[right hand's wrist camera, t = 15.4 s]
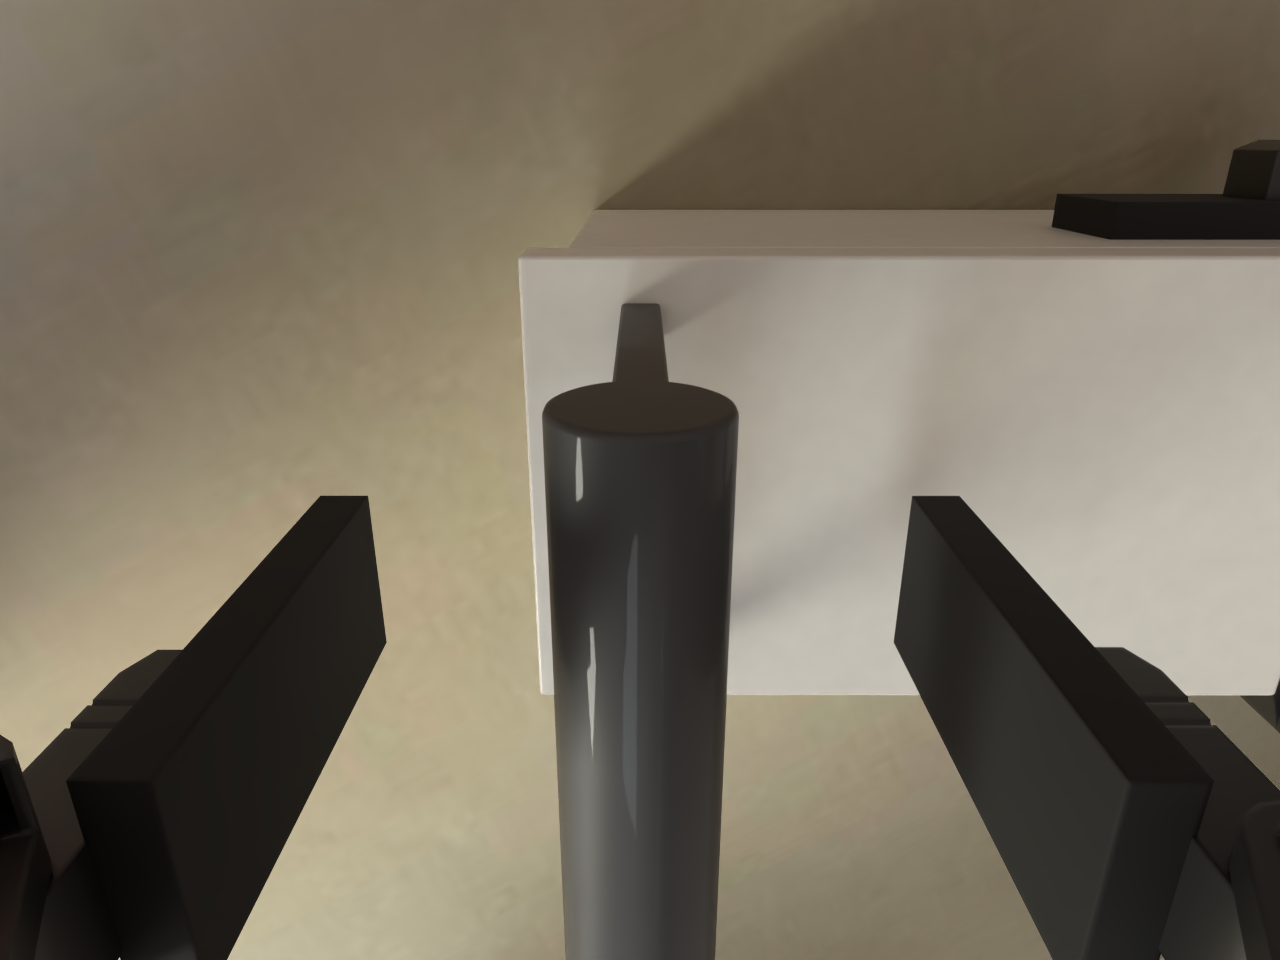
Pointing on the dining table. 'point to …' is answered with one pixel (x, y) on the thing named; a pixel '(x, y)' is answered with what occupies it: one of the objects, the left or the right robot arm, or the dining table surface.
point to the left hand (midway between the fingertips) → (1042, 434)
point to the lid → (863, 500)
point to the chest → (853, 230)
